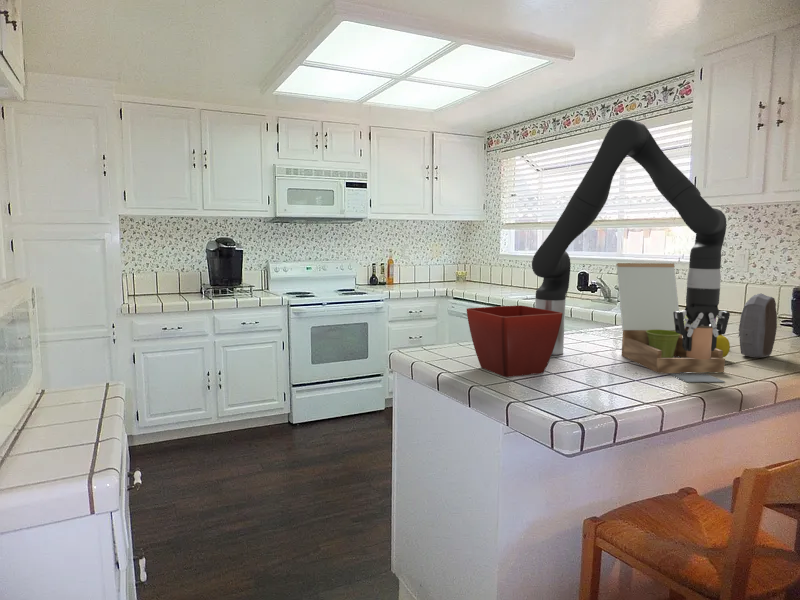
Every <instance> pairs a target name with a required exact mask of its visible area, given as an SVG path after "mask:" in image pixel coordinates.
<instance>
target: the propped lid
mask: <svg viewBox="0 0 800 600" xmlns="http://www.w3.org/2000/svg"><path fill="white" fill-rule="evenodd" d="M675 266H676V265H675V263H674V262H673V263H669V262H668V263H660V262H659V263H657V262H656V263H655V262H653V263H652V262H651V263H650V262H649V263H647V262H646V263H644V262H642V263H641V262H638V263H637V262H635V263H634V262H632V263H631V262H617V263H616V266H615V267H616V271H617V272H616V273H617V284H618V295H619V305H620V308H619V309H620V318H621V329H622V332H623V330H675V323H674V315H673V312H674V311H680V308H679V298H678V290H677V280H676V271H675Z"/></svg>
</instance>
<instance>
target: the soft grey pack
mask: <svg viewBox="0 0 800 600" xmlns="http://www.w3.org/2000/svg"><path fill="white" fill-rule="evenodd" d="M776 302H777V301H776V299H775V298H774V297H772V296H769V295H767V294H766V295H765V294H764V293H757V294H754V295H753V296H751V297H750V298H749V299H748V300H747V301H746V302H745V303H744V306H743V308H742V311H741V314H740V320H739V327H738V335H737V337H738V338H739V346H740V347H739V348H740V354H742V355H743V356H745V357H750V358H764V357H765V358H766V357H769V356H771V355H772V353H773V349H774V346H775V345H774V344H775V341H776V335H777V331H778V330H777V329H778V328H777V327H778V313H777V303H776Z"/></svg>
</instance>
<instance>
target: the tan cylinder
mask: <svg viewBox="0 0 800 600" xmlns="http://www.w3.org/2000/svg"><path fill="white" fill-rule="evenodd" d="M691 325H692V324H691ZM712 334H713V328H711V326H710V325H698V326H697V328H696V329H694V330H693V334H692V336H691V337H692V345H691V351H687V353H686V356H687V357H690V358H694V359H711V348H712Z"/></svg>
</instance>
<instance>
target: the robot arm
mask: <svg viewBox="0 0 800 600" xmlns="http://www.w3.org/2000/svg"><path fill="white" fill-rule="evenodd" d="M607 130H608V131H607V132H606V134H605V136H604V138H603V141H602V142H601V145H600V147H599V149H598V151H597V153H596V155H595V158H594V159H593V161H592V164H590V167H589V168H588V169H587V171H586V173H585V174H584V177H583V178H582V180H581V181H580V183H579V185H578V187H577V188H576V190H575V191H574V192H573V194H572V196H571V197H570V199H569V201H568V203H567V204H566V207H565V208H564V209H563V211H562V213H561V214H560V216H559V218H558V220H557V222H556V223H555V225H554V226H553V228H552V230H551V232H550V233H549V235H548V236H547V237H546V238H545V240H544V241H543V242H542V243H541V245H540V247H539V248H538V249H537V251H536V252H535V254H534V255H533V257H532V261H531V269H532V271H533V274H534V275H535V276H537V277H539V278H543V279H542V283H541V285H540V286H538V288H536V290H535V302H534V303H535V304H534V305H535V306H534V308H539V309H545V310H550V311H556V312H561V313H563V314H562V320H561V324H560V329H559V333H558V337H557V340H556V343H555V346H554V349H553V352H552V355H555V356H556V355H557V356H559V355H563V353H564V343H565V342H564V340H565V317H566V301H567V300H566V297H567V293H568V291H569V288H570V287H569V286H570V279H571V278H570V277H571V257H570V256H569V253H568V252H567V249H568V248H569V247H570V245H571V244H572V243H573V241H574V240H576V239H577V238H578V236H580V235H581V234H582V233H584V232H585V231H586V229H588V228H590V226H591V225H592V224H593V223H594V221H596V219H597V217H598V215H599V214H600V213H601V211H602V209H603V208H604V206H605V205H606V202H607V200H608V197H609V194H610V190H611V186H612V182H613V179H614V176H615V175H616V173H617V171H618V169H619V168H620V166H621V164H622V162H623V161H624V160H625V159H626V157H627V156H628V157H630V158H631V159H633V161H635V162H636V163H637V164H639V165H640V166H641V167H642V168H643V170H645V171H646V173H647V174H648V175H649V177H650V179H651V180H652V183H653V184H654V186H655V187H656V189H657V190H658V191H659V193H660V194H661V196H663V198H665V200H666V201H667V202H668V203H669V204H670V205H671V206H672V207H673V208H674V209H675V210H676V211H677V213H678V215H679V216H680V218H681V219H682V221H683V222H684V223H685V225H686V226H687V227H688V228H689V229H690V230H691V231H692V232H693V233H694V234H695V240H694V245H693V246H692V248H691V249H690V251H689V252H690V254H689V265H688V267H689V268H688V272H687V278H686V279H687V280H686V296H685V304H686V307H685V308H684V310H679V311H674V312H673V315H674V323H675V331H676V333H679V334H681V335H682V338H683V341H682V347H683V348H684V350H686V351H691V345H692V337H691V336H692V334H693V330H694V329H696V328H697V326H698V325H710V326H711V328H713V334H712V348H711V351H714V349H715V348H716V343H717V337H718V336H719V335H721V334H722V336H724V335H725V334H726V332H727V328H728V327H727V326H728V325H729V324H728V323H729V319H730V316H731V313H730V312H729V311H724V310H719V307H718V306H719V304H720V297H721V296H720V294H721V283H722V281H721V280H722V277H721V265H722V264H721V263H722V248H723V245H724V243H725V242H724V241H725V236H726V232H727V218H726V215H725V213H724V212H723V211H722V210H721V209H718V208H714V207H712V206H711V205H710V204H709V203H708V201H706V200H705V199H704V198H703V197H702V195H701V191H700V190H699V188H698V187H696V186H695V184H694V183H693V182H692V181H691V180H690V179H689V178H688V177H687V176H686V175H685V174H684V173H683V172H682V171H681V170H680V169H679V168H678V166H676V165H675V164H674V163H673V162H672V161H671V160H670V159H669V157H668V156H667V155H666V154H665V152H664V151H663V150H662V148H661V147H660V146H659V144H658V143H657V142H656V140H655V138H654V137H653V135H652V134H651V132H650V130H649V129H648V128H647V125H645V124H643V123H642V122H640V121H637V120H633V119H629V118H623V119H619V120H617V121H615V123H613V124H612V125H611V127H609V128H608V129H607ZM685 315H686V316H687V318H688V319H687V321H686V323H685V327H684V318H685ZM715 318H716V319H717V321H716V323H715V320H714V319H715ZM691 323H692V325H691ZM552 355H551V356H552Z"/></svg>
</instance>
